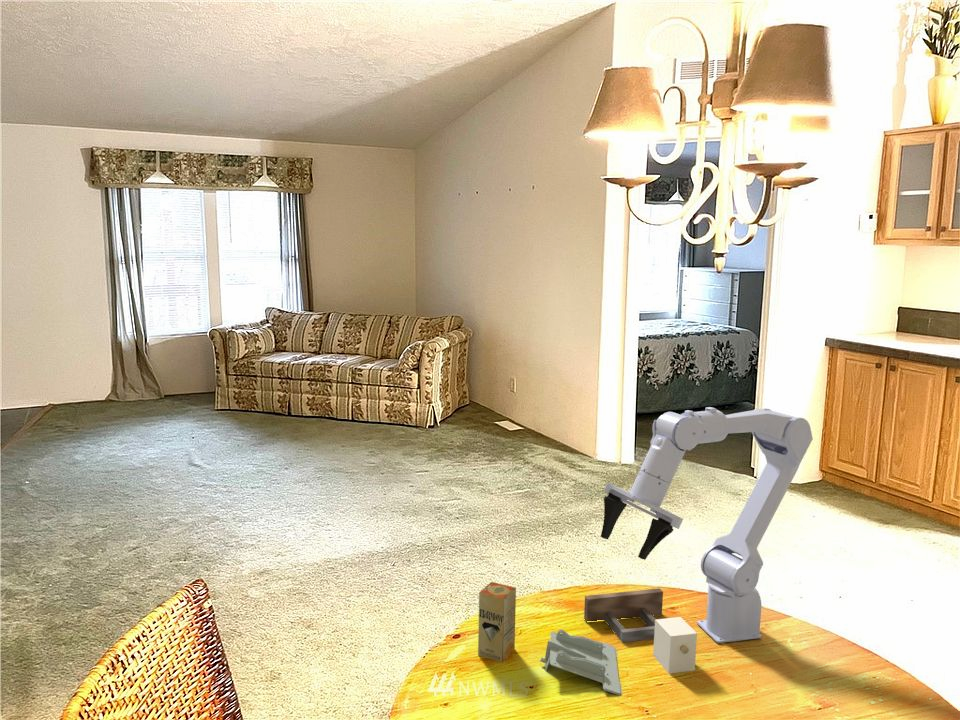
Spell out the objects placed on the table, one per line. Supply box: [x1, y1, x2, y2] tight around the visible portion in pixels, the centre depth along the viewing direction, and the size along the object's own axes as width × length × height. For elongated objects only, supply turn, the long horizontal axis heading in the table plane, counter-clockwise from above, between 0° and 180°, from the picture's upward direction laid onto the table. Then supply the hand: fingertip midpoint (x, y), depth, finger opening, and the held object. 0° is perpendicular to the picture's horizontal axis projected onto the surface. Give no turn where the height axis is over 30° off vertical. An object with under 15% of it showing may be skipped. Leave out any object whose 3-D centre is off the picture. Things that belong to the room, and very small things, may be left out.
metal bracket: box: [540, 628, 623, 696], centre depth 135 cm, size 14×6×15 cm
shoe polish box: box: [477, 581, 517, 663], centre depth 139 cm, size 5×5×12 cm
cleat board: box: [583, 587, 664, 643], centre depth 149 cm, size 16×10×5 cm, turn 103°
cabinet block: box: [652, 616, 698, 674], centre depth 136 cm, size 5×7×7 cm
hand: (622, 548), depth 134 cm, fingers open, 7 cm apart
